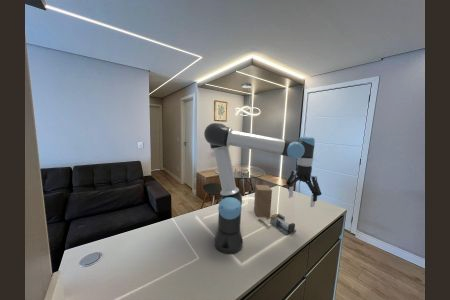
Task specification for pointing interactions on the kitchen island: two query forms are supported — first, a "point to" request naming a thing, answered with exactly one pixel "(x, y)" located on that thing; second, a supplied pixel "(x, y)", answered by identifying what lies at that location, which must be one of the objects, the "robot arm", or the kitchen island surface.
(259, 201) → the wooden block
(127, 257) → the kitchen island surface
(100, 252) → the kitchen island surface
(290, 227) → the gauge slider with pointer
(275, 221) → the gauge housing
